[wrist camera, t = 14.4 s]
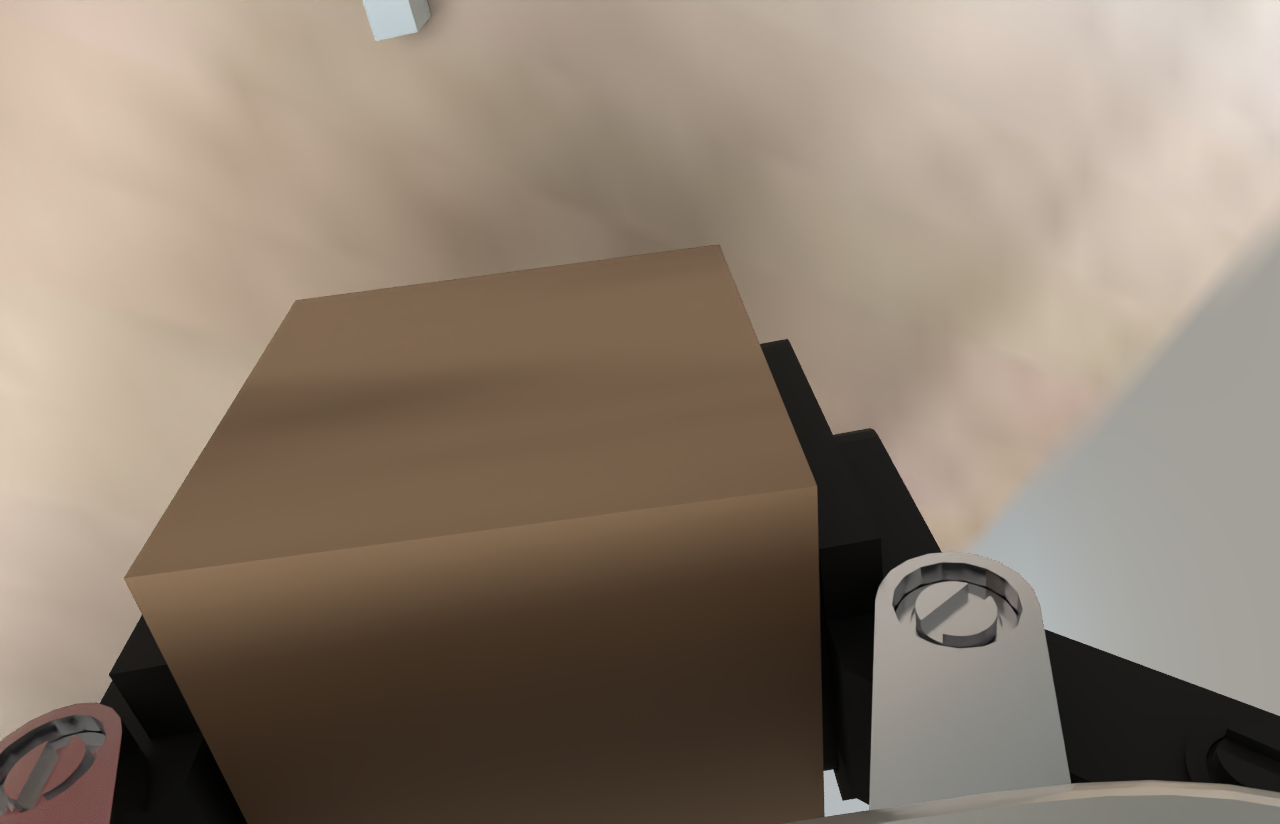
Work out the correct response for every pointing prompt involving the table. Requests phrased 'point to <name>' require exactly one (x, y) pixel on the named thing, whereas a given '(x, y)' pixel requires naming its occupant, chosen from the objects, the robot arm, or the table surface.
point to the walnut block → (504, 560)
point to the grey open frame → (396, 17)
